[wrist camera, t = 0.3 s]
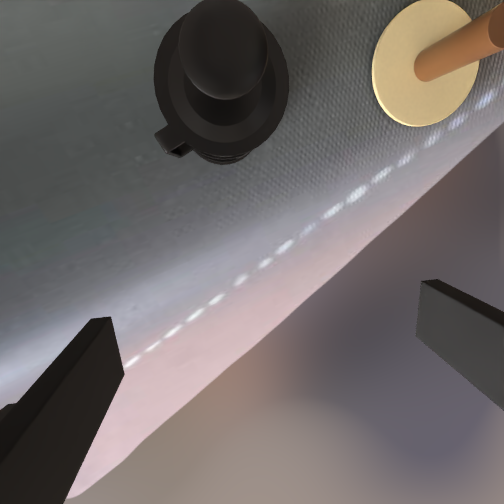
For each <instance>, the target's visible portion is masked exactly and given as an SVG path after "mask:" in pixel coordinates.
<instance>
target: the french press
mask: <svg viewBox="0 0 504 504" xmlns="http://www.w3.org/2000/svg"><path fill="white" fill-rule="evenodd" d="M154 86H155V93H156V97H157V101H158V104H159V107H160V110H161V112H162V114H163V115H164V117H165V119H166V121H167V123H168V124H169V125H167V126H166V127H164V128H163V129H161V130H160V131H158V132H157V133H155V138H156V139H157V141H158V142H159V144H160V145H161V147H162V148H163V150H164V151H165V153H166V154H169V155H172V156H175V157H178V158H181V157H183V156H184V155H186V154H187V153H189V152H191V151H192V150H194V151H195V152H196V153H197V154H198V155H199V156H200V157H201V158H203V159H205V160H206V161H209V162H211V163H214V164H220V165H225V164H232V163H235V162H238V161H240V160H242V159H243V158H244V157H246V156H247V155H248V154H249V153H250V152H251V151H252V150H253V149H254V148H256V147H258V146H259V145H260V144H262V143H263V142H264V141H266V140H267V139H268V138H269V137H270V135H271V134H272V133H273V132H274V131H275V129H276V128H277V126H278V124H279V122H280V121H281V119H282V117H283V114H284V111H285V108H286V105H287V100H288V93H289V75H288V70H287V64H286V60H285V58H284V55H283V52H282V50H281V47H280V46H279V44H278V42H277V41H276V39H275V37H274V36H273V34H272V33H271V32H270V31H269V30H268V28H267V27H266V26H265V25H264V24H263V23H262V22H261V21H259V19H258V17H257V16H256V15H255V14H254V13H253V11H252V10H251V9H250V8H249V7H247V6H246V5H245V4H243V3H242V2H240V1H238V0H204V1H202V2H200V3H198V4H197V5H196V6H195V7H194V8H193V9H191V11H190V12H189V13H187V14H185V15H183V16H182V17H181V18H180V19H179V20H178V21H176V22H175V23H174V24H173V25H172V27H171V28H170V29H169V31H168V32H167V33H166V35H165V36H164V38H163V40H162V42H161V44H160V47H159V49H158V52H157V56H156V60H155V65H154Z"/></svg>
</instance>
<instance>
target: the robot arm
mask: <svg viewBox="0 0 504 504" xmlns="http://www.w3.org/2000/svg"><path fill="white" fill-rule="evenodd" d="M416 337H417V338H418V339H420V340H421V341H422V342H423V343H424V344H425V345H427V346H428V347H429V348H430V349H432V351H434V352H435V353H436V354H437V355H438V356H440V357H441V358H442V359H443V360H444V361H446V362H447V363H448V364H449V365H450V366H451V367H453V368H454V369H455V370H456V371H457V372H459V373H460V374H461V375H462V376H463V377H464V378H466V379H467V380H468V381H469V382H471V383H472V384H473V385H474V386H475V387H476V388H477V389H479V390H480V391H481V392H482V393H483V394H485V395H486V396H487V397H488V398H489V399H490V400H492V401H493V402H494V403H495V404H497V405H498V406H499V407H500V408H501V409H502V410H503V411H504V312H503V311H501V310H499V309H497V308H495V307H493V306H491V305H489V304H487V303H485V302H483V301H481V300H479V299H477V298H474V297H473V296H471V295H469V294H466V293H464V292H462V291H460V290H458V289H456V288H454V287H452V286H450V285H448V284H446V283H444V282H442V281H440V280H438V279H436V280H426V281H421V288H420V298H419V308H418V318H417V328H416ZM123 377H124V370H123V366H122V361H121V357H120V353H119V349H118V345H117V340H116V336H115V332H114V328H113V323H112V319H111V317H102V318H93V319H90V320H89V322H88V323H87V324H86V325H85V326H84V327H83V328H82V329H81V331H80V332H79V333H78V334H77V335H76V336H75V337H74V339H73V340H72V341H71V342H70V343H69V344H68V345H67V346H66V348H65V349H64V350H63V351H62V352H61V353H60V354H59V356H58V357H57V358H56V359H55V360H54V361H53V362H52V364H51V365H50V366H49V367H48V368H47V369H46V370H45V371H44V373H43V374H42V375H41V376H40V377H39V378H38V379H37V381H36V382H35V383H34V384H33V385H32V386H31V387H30V388H29V390H28V391H27V392H26V393H25V394H24V395H23V396H22V398H21V399H20V400H19V401H18V402H17V403H14V404H8V405H6V406H5V407H4V408H2V409H1V410H0V504H63V503H64V501H65V499H66V497H67V495H68V493H69V491H70V488H71V486H72V484H73V482H74V480H75V478H76V476H77V474H78V472H79V469H80V467H81V465H82V463H83V461H84V459H85V457H86V455H87V453H88V450H89V448H90V446H91V444H92V442H93V440H94V438H95V436H96V434H97V431H98V429H99V427H100V425H101V423H102V421H103V419H104V417H105V415H106V412H107V410H108V408H109V406H110V404H111V402H112V400H113V398H114V396H115V393H116V391H117V389H118V387H119V385H120V383H121V381H122V379H123Z"/></svg>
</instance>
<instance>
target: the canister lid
mask: <svg viewBox="0 0 504 504" xmlns="http://www.w3.org/2000/svg"><path fill="white" fill-rule="evenodd" d="M501 50H504V2H503V3H501V4H499V5H498V6H496V7H494V8H493V9H491V10H489V11H488V12H486V13H484V14H483V15H481V16H479V17H478V18H476V19H474V20H473V21H472V20H471V19H470V17H469V16H468V15H467V13H466V12H465V11H464V10H463V9H462V8H461V7H459V6H458V5H456V4H455V3H453V2H451V1H448V0H421V1H417V2H415V3H413V4H411V5H409V6H408V7H406V8H405V9H403V10H402V11H401V12H400V13H399V14H397V15H396V16H395V17H394V18H393V19H392V20H391V22H390V23H389V24H388V25H387V27H386V28H385V30H384V31H383V33H382V35H381V37H380V39H379V41H378V43H377V46H376V49H375V53H374V57H373V63H372V82H373V88H374V92H375V95H376V97H377V100H378V102H379V104H380V105H381V107H382V108H383V110H384V111H385V112H386V113H387V114H388V115H389V116H390V117H391V118H393V119H394V120H395V121H397V122H399V123H401V124H404V125H407V126H426V125H430V124H434V123H436V122H439V121H441V120H443V119H444V118H446V117H448V116H449V115H450V114H452V113H453V112H454V111H455V110H456V109H457V108H458V107H459V106H460V105H461V104H462V102H463V101H464V100H465V98H466V97H467V95H468V94H469V92H470V90H471V88H472V86H473V84H474V81H475V79H476V75H477V71H478V66H479V60H480V59H483V58H485V57H487V56H490V55H492V54H494V53H497V52H499V51H501Z"/></svg>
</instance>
